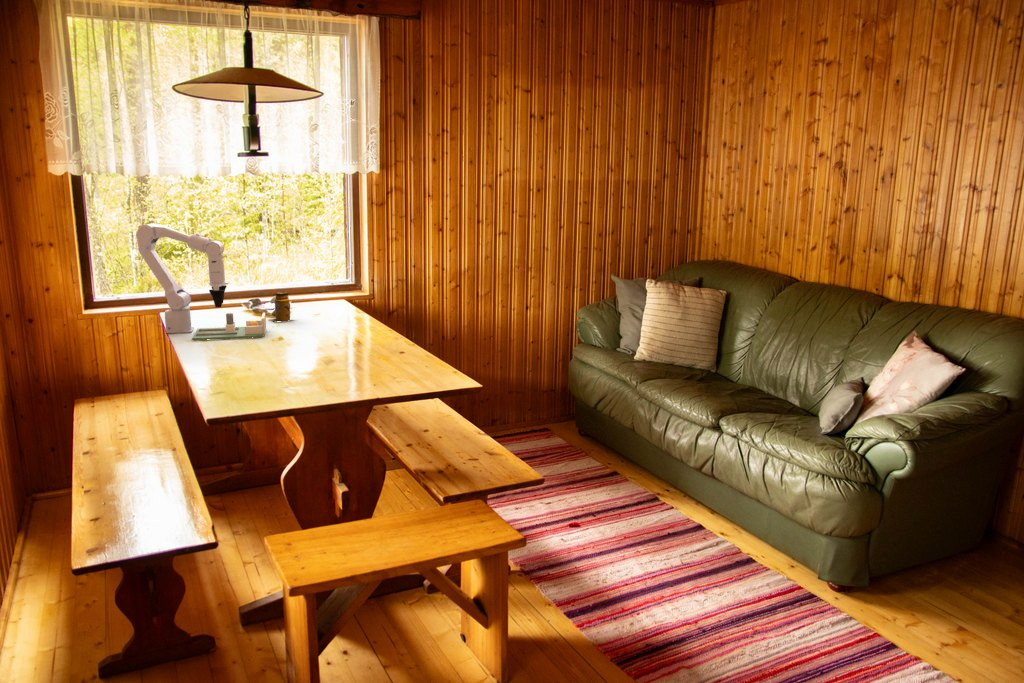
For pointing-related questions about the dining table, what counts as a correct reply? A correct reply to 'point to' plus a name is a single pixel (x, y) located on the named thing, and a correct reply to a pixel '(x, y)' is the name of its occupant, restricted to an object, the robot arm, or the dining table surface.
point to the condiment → (281, 307)
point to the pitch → (222, 333)
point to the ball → (253, 323)
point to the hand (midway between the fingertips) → (219, 305)
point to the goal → (256, 329)
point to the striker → (230, 323)
